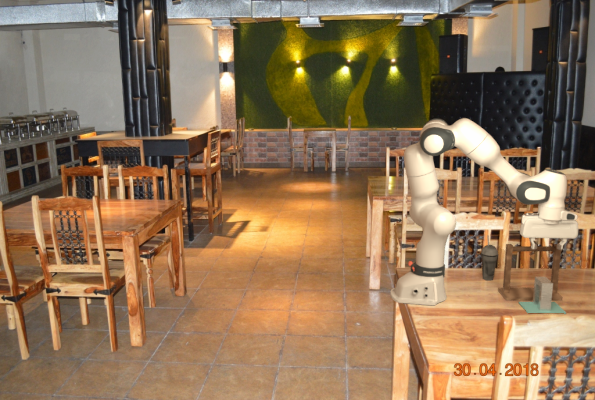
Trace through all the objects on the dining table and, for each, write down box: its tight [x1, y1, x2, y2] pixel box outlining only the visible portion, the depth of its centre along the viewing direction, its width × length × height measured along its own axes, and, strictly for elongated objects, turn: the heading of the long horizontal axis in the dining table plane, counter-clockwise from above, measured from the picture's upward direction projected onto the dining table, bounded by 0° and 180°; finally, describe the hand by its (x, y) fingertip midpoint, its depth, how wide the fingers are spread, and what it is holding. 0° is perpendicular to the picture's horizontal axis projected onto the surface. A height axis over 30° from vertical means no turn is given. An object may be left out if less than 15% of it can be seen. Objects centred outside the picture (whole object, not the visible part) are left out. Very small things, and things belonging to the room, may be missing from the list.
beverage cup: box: [480, 234, 499, 281], centre depth 235 cm, size 7×7×20 cm
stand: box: [497, 243, 563, 302], centre depth 216 cm, size 22×10×22 cm, turn 88°
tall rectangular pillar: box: [532, 276, 553, 311], centre depth 205 cm, size 4×7×11 cm, turn 177°
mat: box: [518, 301, 567, 315], centre depth 206 cm, size 14×10×1 cm
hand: (546, 248), depth 201 cm, fingers open, 8 cm apart
